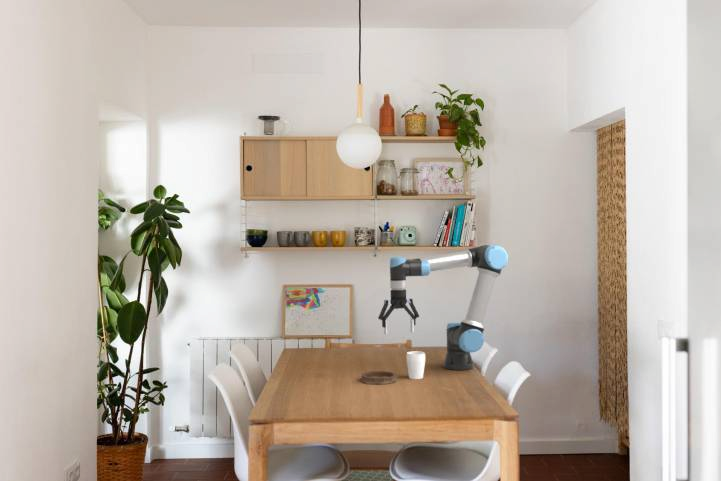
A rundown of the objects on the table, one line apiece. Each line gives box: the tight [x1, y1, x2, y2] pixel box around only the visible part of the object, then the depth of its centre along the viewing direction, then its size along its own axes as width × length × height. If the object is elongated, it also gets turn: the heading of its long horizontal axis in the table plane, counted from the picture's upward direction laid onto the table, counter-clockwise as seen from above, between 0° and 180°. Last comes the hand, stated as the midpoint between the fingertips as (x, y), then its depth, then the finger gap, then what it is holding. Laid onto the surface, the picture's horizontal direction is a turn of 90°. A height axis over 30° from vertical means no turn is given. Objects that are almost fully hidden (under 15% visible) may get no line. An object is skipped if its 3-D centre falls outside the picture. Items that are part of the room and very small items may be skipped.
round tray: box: [360, 370, 398, 386], centre depth 313 cm, size 17×17×3 cm
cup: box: [405, 350, 426, 380], centre depth 319 cm, size 9×9×12 cm
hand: (399, 333), depth 322 cm, fingers open, 13 cm apart
